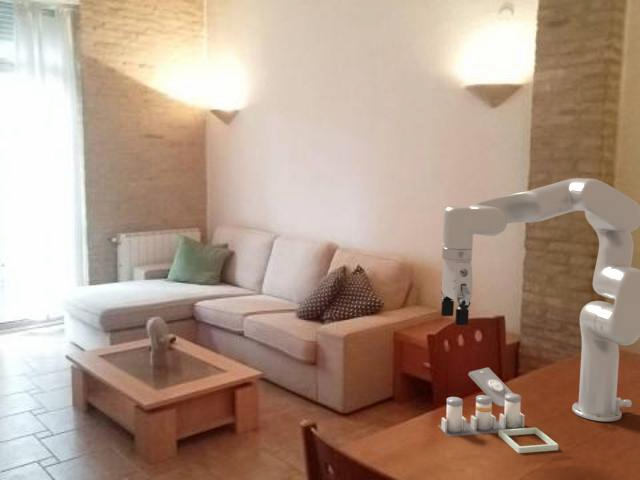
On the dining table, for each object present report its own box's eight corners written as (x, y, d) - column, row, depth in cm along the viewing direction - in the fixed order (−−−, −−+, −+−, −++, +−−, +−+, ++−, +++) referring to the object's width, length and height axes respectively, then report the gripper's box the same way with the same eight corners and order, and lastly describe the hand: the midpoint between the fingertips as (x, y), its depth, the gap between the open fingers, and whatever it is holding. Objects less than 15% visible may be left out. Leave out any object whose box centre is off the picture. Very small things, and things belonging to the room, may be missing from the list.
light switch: (504, 405, 177) (470, 369, 187) (495, 420, 180) (462, 383, 190) (523, 399, 182) (489, 364, 192) (514, 413, 185) (481, 378, 194)
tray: (535, 436, 161) (536, 427, 160) (557, 454, 151) (558, 444, 150) (498, 439, 159) (498, 430, 158) (518, 457, 149) (518, 447, 148)
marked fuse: (486, 424, 165) (487, 394, 164) (493, 430, 161) (494, 400, 160) (472, 425, 165) (473, 395, 164) (479, 431, 161) (480, 401, 160)
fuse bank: (515, 423, 169) (517, 390, 168) (528, 434, 162) (530, 400, 161) (437, 429, 165) (438, 395, 163) (447, 440, 158) (448, 405, 157)
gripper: (485, 259, 154) (481, 328, 156) (457, 250, 171) (455, 312, 173) (456, 259, 153) (453, 328, 154) (431, 250, 170) (429, 312, 171)
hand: (454, 320), depth 164 cm, fingers open, 9 cm apart
